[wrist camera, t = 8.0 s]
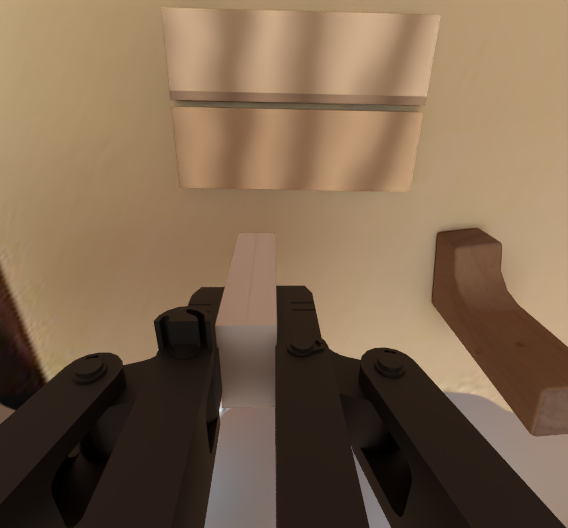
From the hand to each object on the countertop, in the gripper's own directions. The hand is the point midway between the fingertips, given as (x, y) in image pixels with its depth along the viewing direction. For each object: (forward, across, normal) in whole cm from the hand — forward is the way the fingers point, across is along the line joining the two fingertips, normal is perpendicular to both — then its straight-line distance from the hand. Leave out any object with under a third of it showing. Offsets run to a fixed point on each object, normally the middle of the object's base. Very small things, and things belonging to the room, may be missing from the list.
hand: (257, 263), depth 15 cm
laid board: (+21, +3, +10) cm, 23 cm away
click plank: (+21, +3, +2) cm, 21 cm away
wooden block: (+21, +21, -10) cm, 31 cm away
